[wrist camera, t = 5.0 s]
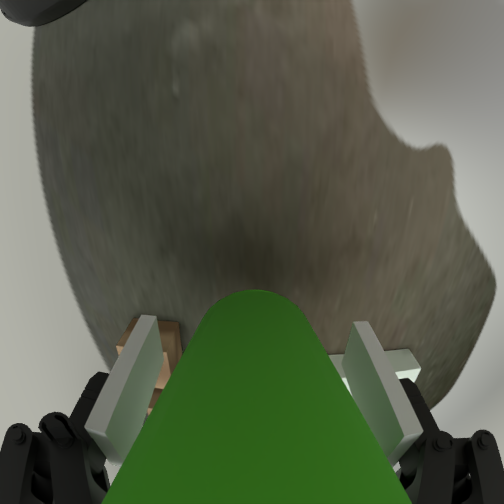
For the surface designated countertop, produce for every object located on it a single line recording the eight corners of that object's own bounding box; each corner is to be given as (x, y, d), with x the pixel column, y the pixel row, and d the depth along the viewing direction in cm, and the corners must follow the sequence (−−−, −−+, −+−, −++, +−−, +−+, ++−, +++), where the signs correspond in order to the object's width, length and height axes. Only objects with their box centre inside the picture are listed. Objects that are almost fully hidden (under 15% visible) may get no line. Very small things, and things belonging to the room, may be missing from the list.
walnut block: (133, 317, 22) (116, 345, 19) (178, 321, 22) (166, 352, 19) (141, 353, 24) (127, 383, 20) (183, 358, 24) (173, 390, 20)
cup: (239, 408, 16) (233, 570, 6) (129, 312, 14) (31, 505, 3) (370, 340, 14) (447, 521, 4) (277, 203, 12) (378, 518, 1)
